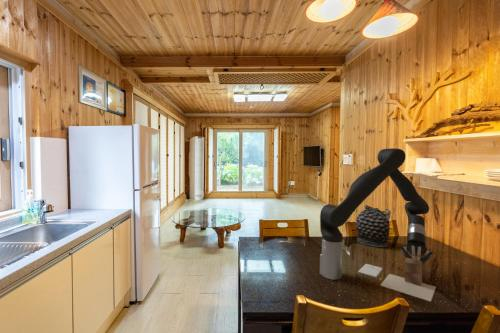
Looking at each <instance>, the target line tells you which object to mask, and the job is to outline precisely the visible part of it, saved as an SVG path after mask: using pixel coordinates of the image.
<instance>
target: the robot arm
mask: <svg viewBox="0 0 500 333" xmlns="http://www.w3.org/2000/svg"><path fill="white" fill-rule="evenodd" d="M405 152H406V151H404V150H402V149H401V148H392V147H391V148H383V149H380V150H379V151H378V152H377V153H378V154H377V158H376V159H377V161H378V163H379V165H377V166H375V167H373V168H371V169H369V170H367V171H365V172H363V173H362V174H361V175H359V177H357V178H356V179H355V180H354V181H353V182H352V183H351V185H350V187H349V190H348V193H347V195H346V197H345V198H344V200H342V202H340V203H339V204H338V205H334V204H325V205H324V206H323V207H322V208H321V210H320V215H319V226H320V227H319V229H320V230H319V231H320V234H321V253H320V254H319V275H320V276H322V277H324V278H326V279H327V280H328V279H329V280H333V281H336V280H340V279H342V277H343V243H344V242H343V238H344V237H343V234H342V232H341V230H340V229H339V228H340V227H342V226H343V225H344V224H346V222H348V220H349V219H350V217H352V215H353V214H354V212H355V211H356V210H357V209H358V208H359V207H360V205H361V204H362V203H363V202H364V201H365V200H366V199H367V198H368V197H369V196H370V195H372V193H374V192H375V190H376V189H377V188H378V187H379V186H380V185H381V184H382V183H383V182H384V181H385V180H386V179H387V178H388V177H389V178H390V179H391V180H392V182H393V184H395V187H396V188H397V190H398V192H399V193H400V195H401V198H402V199H403V200H404V201H406V203H405V205H404V210H405V213H406V216H407V230H406V244H405V246H401V247H400V252H401V253H402V254H403V255H404V256H405V258H410V259H415V260H419V261H422V264H425V263H426V262H427V261H428V260H430V259H431V258H432V257H433V252H432V251H430V250H428V248H427V244H426V243H427V241H426V240H427V239H426V238H427V236H426V222H425V218H424V217H423V216H422V215H425V214H426V215H427V214H428V213H429V211H430V206H429V204H428V202H427V201H426V200H425V199H424V198H423V197H422V196H421V195H420V194H419V192H417V189H416V187H415V186H414V183H413V182H412V181H411V180H410V179H409V178H408V177H407V176H405V174H404V173H402V171H400V167H401V166H403V164H404V163H405V160H406V158H407V157H406V153H405ZM423 255H424V256H423ZM422 256H423V257H422ZM421 257H422V258H421Z"/></svg>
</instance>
